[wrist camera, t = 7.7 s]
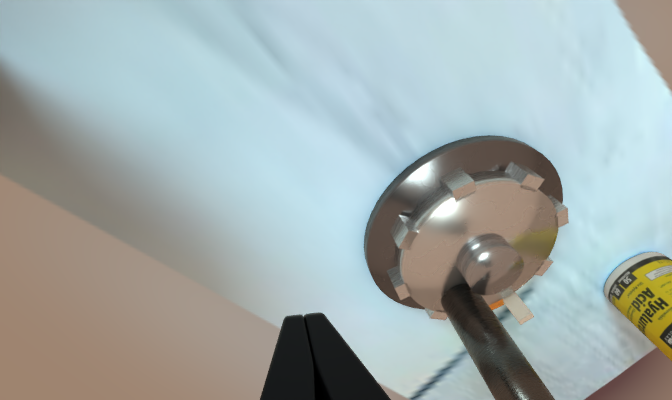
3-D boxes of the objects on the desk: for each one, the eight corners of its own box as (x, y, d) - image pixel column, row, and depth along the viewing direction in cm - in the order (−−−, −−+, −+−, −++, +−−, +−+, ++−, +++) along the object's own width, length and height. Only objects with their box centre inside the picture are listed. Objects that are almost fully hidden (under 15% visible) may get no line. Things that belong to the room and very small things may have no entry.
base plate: (354, 309, 27) (369, 357, 23) (378, 136, 20) (404, 171, 17) (516, 291, 29) (549, 332, 26) (586, 134, 23) (641, 163, 19)
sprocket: (421, 325, 27) (517, 523, 18) (354, 225, 21) (445, 444, 12) (562, 251, 26) (745, 420, 17) (534, 123, 20) (796, 275, 11)
